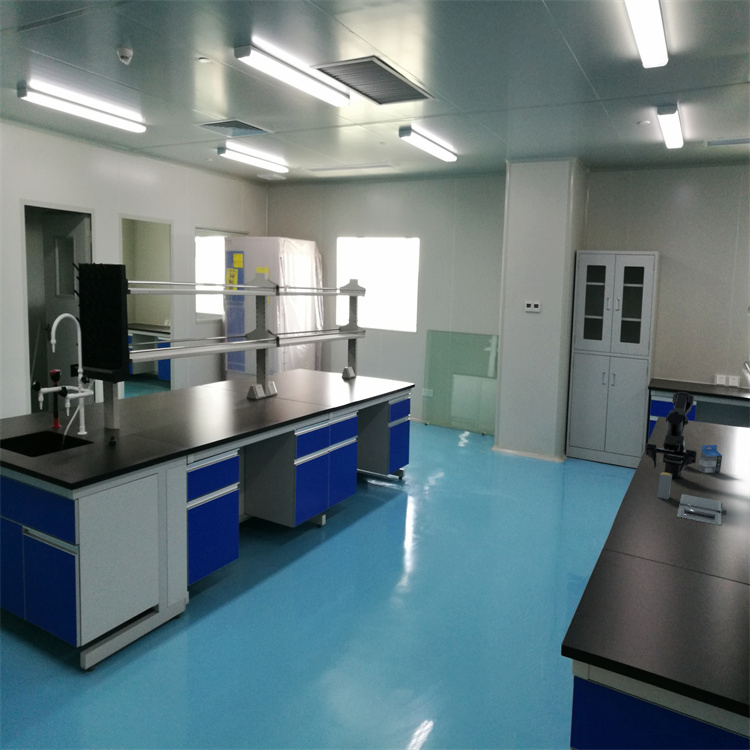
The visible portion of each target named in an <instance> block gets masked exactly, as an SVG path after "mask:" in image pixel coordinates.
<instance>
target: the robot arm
mask: <svg viewBox="0 0 750 750" xmlns="http://www.w3.org/2000/svg"><path fill="white" fill-rule="evenodd" d="M672 395H673V396H672V402H671V403H672V404H673V408H672V409H670V410H669V414H667V415H666V418H665V423H666V428H667V430H666V434H665V435H664V441H663V445H662V446H663V448H662V447H661V448H660V447H657V445H658V444H656V443H650V442H648V443H646V444H645V455H646V456H648V458H651V459H650V460H651V461H652V463H653V469H655V470H656V468H657V453H658V454H662V455H663V457H662V458H663V459H662V463H664V472H666V473H670V474H672V479H673V480H674V479H675V480H677V479H684V476H682V472H683V471H684V469H686V467H687V466H688V465H692V464H696V462H697V457H698V455H697V454H698V452H697V450H695V449H688V448H686V449H685V445H683V443H684V442H685V436H684V430H685V426H687V425H689V422H690V420H689V417H688V416H687V415H688V413H690V412H691V409H692V407H693V406H694V403H695V397H694V395H692V394H690V393H688V392H685V391H677V392H676V393H673V394H672ZM684 450H686V452H684ZM681 461H682V462H681ZM672 479H671V480H672Z"/></svg>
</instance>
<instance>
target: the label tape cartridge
mask: <svg viewBox="0 0 750 750" xmlns="http://www.w3.org/2000/svg"><path fill="white" fill-rule="evenodd" d="M717 447H718V445H717V444H707V445H706V444H703V445H701V451H700V457H699V464H698V465H699V466H698V470H697V471H698V472H700V473H703V474H717V473H718V474H719V473H721V469H722V468H721V467H722V460H723V455H722V454H721V453H720V452H719V451H718V450H717V449H718V448H717Z"/></svg>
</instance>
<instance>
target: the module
mask: <svg viewBox="0 0 750 750" xmlns="http://www.w3.org/2000/svg"><path fill="white" fill-rule="evenodd" d="M658 479H659V480H658V488H657V494H656V495H657V497H659V498H658V499H662V498H663V499H664V500H667V499H668V500H669V498H670V494H671V487H672V474H670V473H666V472H665V471H663V472H662V471H661V472H660V473H659V478H658Z"/></svg>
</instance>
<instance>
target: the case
mask: <svg viewBox="0 0 750 750" xmlns="http://www.w3.org/2000/svg"><path fill="white" fill-rule="evenodd" d="M727 512H728V510H727V509H726V508H722V501H721V500H717V499H716V500H715V499H710V498H705V497H699V496H694V495H689V494H683V493H681V495H680V499H679V504H678V510H677V514H676V517H677V518H681V517H682V519H686V518H687V520H691V519H692V520H691V521H697V522H701V523H706V524H711V525H716V526H722V515H724V516H726V515H727V514H728V513H727Z"/></svg>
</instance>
